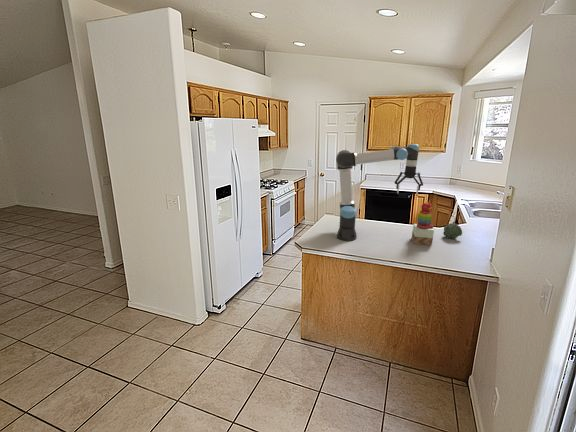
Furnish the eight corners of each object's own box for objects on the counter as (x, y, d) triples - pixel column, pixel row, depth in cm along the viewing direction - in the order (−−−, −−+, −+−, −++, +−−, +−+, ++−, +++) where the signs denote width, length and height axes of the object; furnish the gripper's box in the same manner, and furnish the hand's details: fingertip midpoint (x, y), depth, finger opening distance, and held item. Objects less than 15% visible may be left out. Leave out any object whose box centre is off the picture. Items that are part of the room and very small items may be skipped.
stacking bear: (423, 229, 222) (426, 205, 217) (412, 225, 231) (416, 202, 226) (434, 228, 226) (438, 204, 220) (424, 223, 235) (427, 200, 229)
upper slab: (415, 236, 226) (416, 228, 224) (412, 231, 237) (413, 223, 235) (432, 238, 223) (434, 230, 222) (429, 232, 235) (430, 224, 233)
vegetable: (467, 235, 239) (462, 231, 228) (452, 244, 244) (447, 240, 233) (458, 222, 245) (452, 218, 234) (443, 231, 251) (437, 227, 240)
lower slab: (414, 244, 228) (415, 236, 226) (411, 238, 239) (412, 231, 237) (431, 245, 225) (432, 237, 224) (428, 239, 237) (429, 232, 235)
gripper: (393, 165, 228) (390, 193, 235) (430, 167, 222) (425, 196, 229) (392, 164, 235) (389, 191, 242) (428, 165, 229) (424, 193, 236)
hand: (407, 193), depth 235 cm, fingers open, 13 cm apart
